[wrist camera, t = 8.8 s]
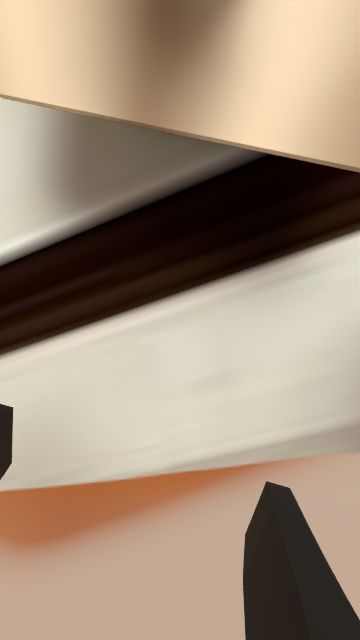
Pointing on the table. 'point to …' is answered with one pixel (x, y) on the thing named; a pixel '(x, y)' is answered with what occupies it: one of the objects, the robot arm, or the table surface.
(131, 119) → the lid
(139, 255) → the table surface
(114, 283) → the table surface
